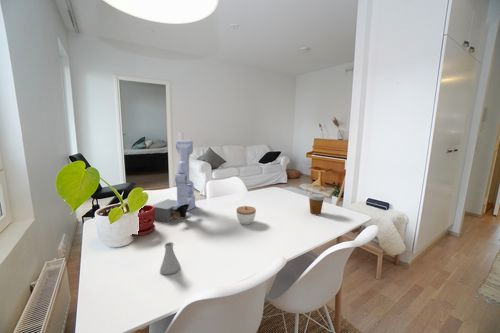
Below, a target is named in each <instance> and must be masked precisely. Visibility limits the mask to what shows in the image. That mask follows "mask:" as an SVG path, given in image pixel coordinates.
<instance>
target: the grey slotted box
mask: <svg viewBox="0 0 500 333" xmlns="http://www.w3.org/2000/svg"><path fill="white" fill-rule="evenodd" d="M176 201H177V199H176V200H174V199H169V198H167V199H165V200H161V201H160V202H157V203H155V204H153V205H151V206H154V207H155V221H156V220H157V221H160V222H165V223H166V222H167V223H169V222H170V219H169V210H170V209H172V208H173V205H175V204H176ZM175 212H179V211H178V209H175Z"/></svg>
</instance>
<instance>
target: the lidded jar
mask: <svg viewBox="0 0 500 333" xmlns="http://www.w3.org/2000/svg"><path fill="white" fill-rule="evenodd" d="M236 217H237V218H236V219H237V221H239V223H240V224H242V225H250V224H252V223H253V221H255V217H256V207H253V206H250V205H249V206H248V205H244V206H238V207H237V208H236Z"/></svg>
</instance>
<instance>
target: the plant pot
mask: <svg viewBox="0 0 500 333" xmlns="http://www.w3.org/2000/svg"><path fill="white" fill-rule="evenodd" d="M144 205H145V204H144ZM142 210H143V211H144V212H141V211H142ZM138 217H139V231H138V235H137V236H144V235H147V234H149V233H152V232H153V231H154V230H155V228H156V224H155V221H156V220H155V207H154V206H152V205H149V204H146V205H145V206H144V207H143V208H141V209H140V210H139V213H138Z"/></svg>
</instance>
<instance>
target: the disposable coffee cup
mask: <svg viewBox="0 0 500 333" xmlns="http://www.w3.org/2000/svg"><path fill="white" fill-rule="evenodd" d="M308 199H309V201H308V202H309V212H310V214H311V215H313V214H316V215H315V216H319V215H318V214H320V215H321V213H322V210H323V203H324V200H325V195H324V194H322V193H316V192H311V193H309V195H308Z"/></svg>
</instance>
